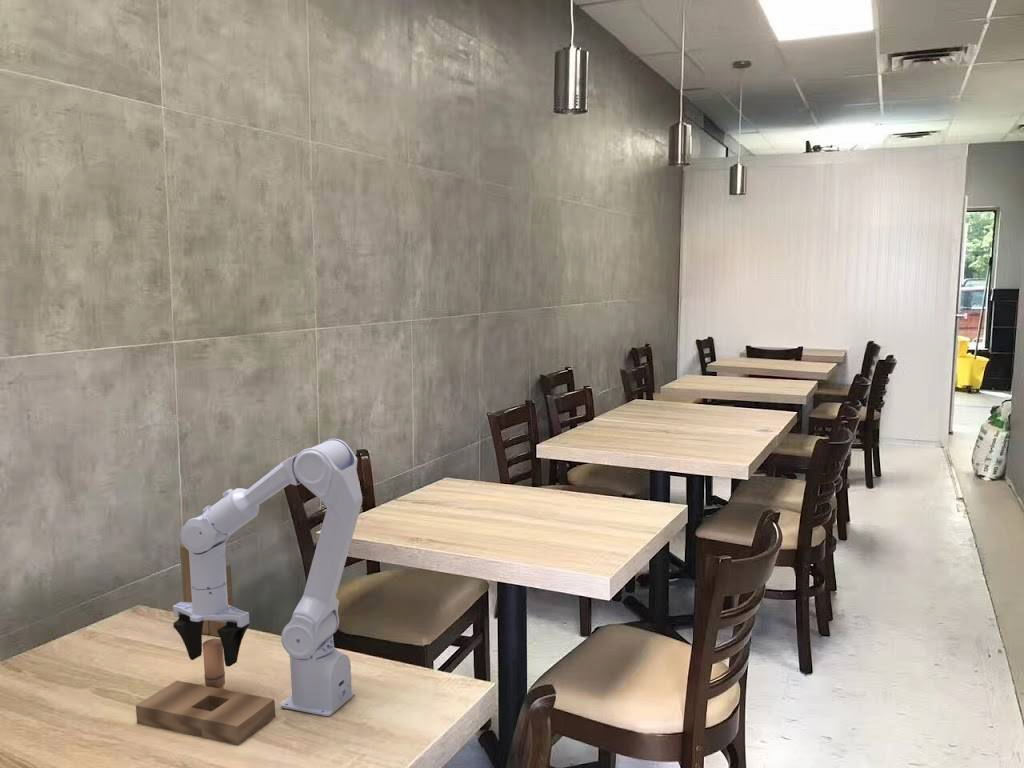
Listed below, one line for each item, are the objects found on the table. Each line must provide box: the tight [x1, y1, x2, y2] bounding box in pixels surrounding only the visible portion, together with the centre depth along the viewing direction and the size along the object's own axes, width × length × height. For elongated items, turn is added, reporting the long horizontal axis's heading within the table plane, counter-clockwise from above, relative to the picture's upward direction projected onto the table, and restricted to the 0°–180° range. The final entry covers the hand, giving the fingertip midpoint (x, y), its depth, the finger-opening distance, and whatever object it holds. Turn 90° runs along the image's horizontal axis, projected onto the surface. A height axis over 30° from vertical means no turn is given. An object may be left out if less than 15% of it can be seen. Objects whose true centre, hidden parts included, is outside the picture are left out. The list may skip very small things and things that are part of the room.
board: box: [135, 680, 276, 746], centre depth 134 cm, size 20×9×3 cm, turn 69°
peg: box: [202, 638, 226, 690], centre depth 143 cm, size 3×3×9 cm
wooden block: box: [179, 543, 234, 638], centre depth 169 cm, size 4×11×18 cm, turn 70°
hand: (213, 660), depth 143 cm, fingers open, 7 cm apart
